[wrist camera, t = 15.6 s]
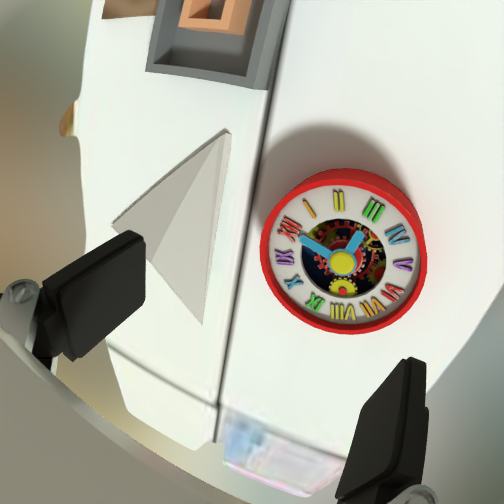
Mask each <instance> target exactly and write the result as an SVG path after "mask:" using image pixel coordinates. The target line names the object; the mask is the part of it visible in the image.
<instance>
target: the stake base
mask: <svg viewBox="0 0 504 504" xmlns="http://www.w3.org/2000/svg"><path fill="white" fill-rule="evenodd" d="M158 4H159V0H105V4H104V9H103V14H102V19H113V18H123V17H136V16H154V15H156V12H157V8H158Z"/></svg>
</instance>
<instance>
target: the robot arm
mask: <svg viewBox="0 0 504 504" xmlns="http://www.w3.org/2000/svg"><path fill="white" fill-rule="evenodd" d="M145 271H146V243H145V241H144V238H143V236H142V235H140V234H138V233H136V232H134V231H132V230H126V231H124V232H123V233H121V234H119V235H117V236H116V237H114V238H112V239H110V240H109V241H107V242H105V243H104V244H102V245H100V246H99V247H97V248H95V249H94V250H92V251H90V252H89V253H87V254H85V255H84V256H82V257H80V258H79V259H77V260H76V261H74V262H72V263H71V264H69V265H67V266H66V267H64V268H63V269H61V270H60V271H58V272H56V273H55V274H53V275H52V276H50V277H49V278H47V279H46V280H44V281H42V284H43V287H42V288H41V289H40V288H39V285H38V284H37V283H36V282H35V281H33V280H30V279H20V280H17V281H14V282H13V283H11V284H10V285H9V286H7V288H6V289H5V291H4V293H0V504H250V503H248V502H245V501H243V500H241V499H239V498H236V497H234V496H232V495H230V494H228V493H226V492H223V491H222V490H220V489H217V488H215V487H214V486H211V485H210V484H207V483H206V482H204V481H202V480H200V479H198V478H196V477H195V476H193V475H191V474H189V473H187V472H186V471H184V470H182V469H180V468H179V467H177V466H175V465H174V464H172V463H170V462H169V461H167V460H165V459H164V458H162V457H160V456H159V455H157V454H156V453H154V452H153V451H151V450H149V449H148V448H146V447H145V446H143V445H142V444H140V443H139V442H137V441H136V440H134V439H133V438H132V437H130V436H129V435H127V434H126V433H124V432H123V431H122V430H120V429H119V428H117V427H116V426H115V425H114V424H112V423H111V422H110V421H108V420H107V419H106V418H104V417H103V416H102V415H100V414H99V413H98V412H97V411H95V410H94V409H93V408H92V407H90V406H89V405H88V404H87V403H85V402H84V401H83V400H82V399H81V398H79V397H78V396H77V395H76V394H75V393H73V392H72V391H71V390H70V389H69V388H68V387H67V386H66V385H65V384H63V383H62V382H61V381H60V380H59V379H58V378H57V377H56V368H57V361H58V355H59V354H60V353H61V352H63V354H64V355H65V356H66V357H67V358H68V359H70V360H71V361H72V362H73V361H74V360H76V359H77V358H81V357H83V356H84V355H86V354H87V353H88V352H89V351H90V350H91V349H92V348H93V347H95V346H96V345H97V344H98V343H99V342H100V341H101V340H102V339H104V338H105V337H106V336H107V335H108V334H110V333H111V332H112V331H113V330H114V329H115V328H116V327H118V326H119V325H120V324H121V323H122V322H123V321H125V320H126V319H127V318H128V317H129V316H130V315H131V314H133V313H134V312H135V311H136V310H137V309H139V308H140V307H141V306H142V305H143V303H144V301H145ZM425 395H426V363H425V362H423V361H421V360H418V359H416V358H413V357H409V358H408V359H407V360H406V359H402V360H401V361H400V362H399V363H398V364H397V366H396V367H395V368H394V369H393V371H392V372H391V373H390V374H389V376H388V377H387V378H386V379H385V381H384V382H383V383H382V384H381V385H380V386H379V388H378V389H377V390H376V391H375V392H374V393H373V395H372V396H371V397H370V398H369V399H368V400H367V401H366V403H365V404H364V405H363V407H362V409H361V411H360V415H359V419H358V423H357V426H356V430H355V434H354V437H353V441H352V444H351V447H350V451H349V454H348V457H347V461H346V464H345V467H344V470H343V473H342V476H341V479H340V482H339V485H338V488H337V491H336V494H335V498H336V499H338V502H337V504H439V499H438V497H437V495H436V493H435V492H434V491H433V490H432V489H431V488H430V487H428V486H426V485H421V481H422V475H423V468H424V461H425V453H426V443H427V433H428V421H429V410H428V408H427V407H425Z"/></svg>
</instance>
